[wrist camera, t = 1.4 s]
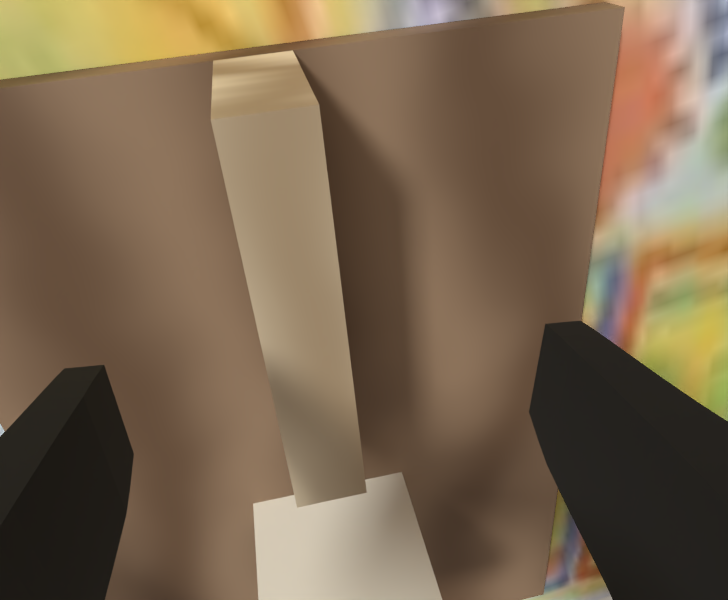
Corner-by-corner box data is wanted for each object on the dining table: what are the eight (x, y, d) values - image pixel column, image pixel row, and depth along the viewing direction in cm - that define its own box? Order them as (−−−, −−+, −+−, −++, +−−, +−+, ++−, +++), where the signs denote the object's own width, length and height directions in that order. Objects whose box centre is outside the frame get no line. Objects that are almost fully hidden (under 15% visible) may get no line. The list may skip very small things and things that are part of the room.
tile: (258, 522, 25) (272, 747, 18) (252, 503, 24) (265, 729, 18) (403, 491, 26) (466, 696, 19) (401, 471, 25) (467, 677, 18)
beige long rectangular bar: (282, 391, 21) (296, 507, 17) (213, 60, 15) (210, 119, 11) (338, 380, 22) (366, 492, 18) (293, 50, 16) (319, 104, 11)
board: (154, 668, 31) (152, 689, 30) (-156, 100, 15) (-178, 111, 14) (535, 576, 33) (543, 594, 32) (605, 2, 17) (624, 7, 17)
